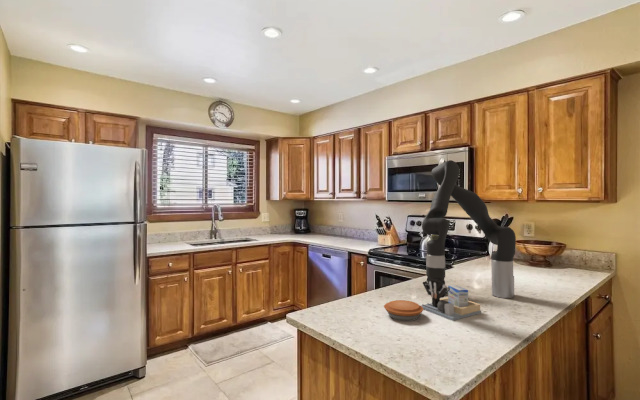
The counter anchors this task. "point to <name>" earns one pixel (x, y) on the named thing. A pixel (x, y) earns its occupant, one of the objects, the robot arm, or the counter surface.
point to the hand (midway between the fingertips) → (435, 306)
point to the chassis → (454, 310)
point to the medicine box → (458, 296)
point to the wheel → (442, 305)
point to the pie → (403, 310)
